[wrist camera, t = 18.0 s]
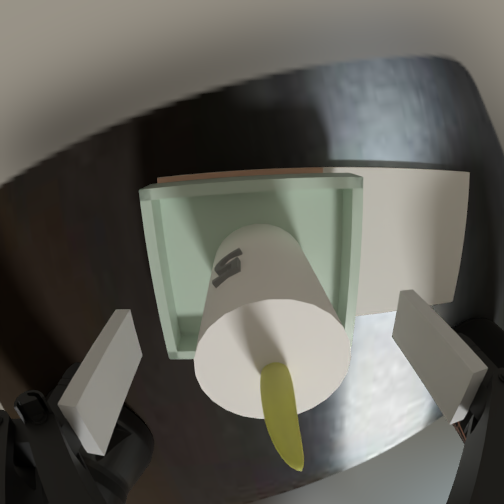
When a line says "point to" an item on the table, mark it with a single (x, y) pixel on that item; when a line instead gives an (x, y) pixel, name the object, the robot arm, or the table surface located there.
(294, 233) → the mint green tray
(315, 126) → the table surface
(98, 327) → the table surface
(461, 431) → the coffee jar
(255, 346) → the candle
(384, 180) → the board
